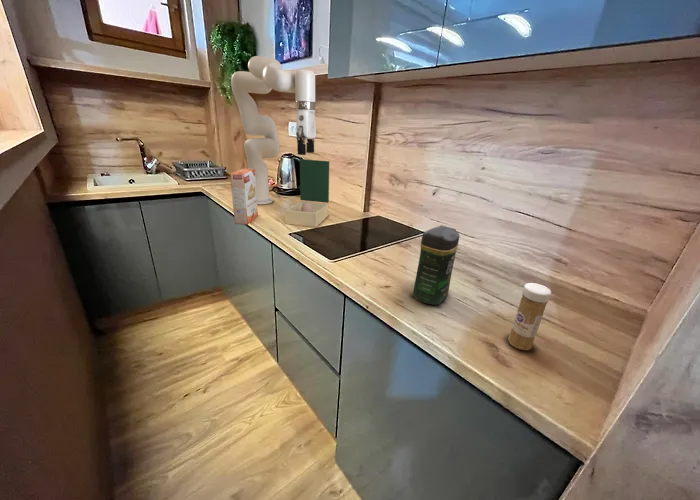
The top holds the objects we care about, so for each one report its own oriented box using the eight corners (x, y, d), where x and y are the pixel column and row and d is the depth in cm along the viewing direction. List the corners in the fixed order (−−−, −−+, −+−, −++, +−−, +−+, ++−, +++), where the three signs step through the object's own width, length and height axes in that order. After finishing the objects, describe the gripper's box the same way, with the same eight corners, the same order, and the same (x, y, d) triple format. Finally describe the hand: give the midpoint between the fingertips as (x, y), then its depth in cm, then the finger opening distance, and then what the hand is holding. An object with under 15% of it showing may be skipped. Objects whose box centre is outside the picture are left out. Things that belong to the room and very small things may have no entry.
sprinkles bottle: (503, 340, 64) (519, 284, 59) (516, 334, 66) (533, 280, 61) (523, 354, 60) (542, 296, 55) (537, 347, 62) (557, 290, 57)
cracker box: (249, 225, 125) (244, 173, 116) (234, 224, 125) (228, 172, 116) (259, 215, 137) (255, 168, 129) (245, 215, 138) (241, 167, 129)
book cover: (328, 161, 132) (332, 160, 137) (299, 159, 135) (304, 158, 140) (328, 202, 139) (331, 200, 144) (300, 200, 142) (304, 197, 147)
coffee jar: (437, 309, 73) (450, 238, 66) (408, 298, 78) (417, 229, 71) (452, 294, 81) (465, 228, 73) (424, 284, 85) (434, 220, 78)
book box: (315, 227, 126) (315, 213, 124) (285, 223, 129) (284, 210, 127) (328, 215, 142) (328, 203, 140) (301, 212, 145) (300, 200, 142)
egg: (314, 219, 133) (314, 203, 130) (303, 220, 131) (302, 203, 128) (310, 216, 137) (310, 200, 135) (299, 217, 135) (299, 201, 132)
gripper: (306, 106, 108) (307, 156, 115) (321, 108, 124) (321, 152, 130) (287, 105, 110) (288, 154, 116) (304, 108, 125) (305, 151, 132)
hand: (306, 153), depth 123 cm, fingers open, 9 cm apart
